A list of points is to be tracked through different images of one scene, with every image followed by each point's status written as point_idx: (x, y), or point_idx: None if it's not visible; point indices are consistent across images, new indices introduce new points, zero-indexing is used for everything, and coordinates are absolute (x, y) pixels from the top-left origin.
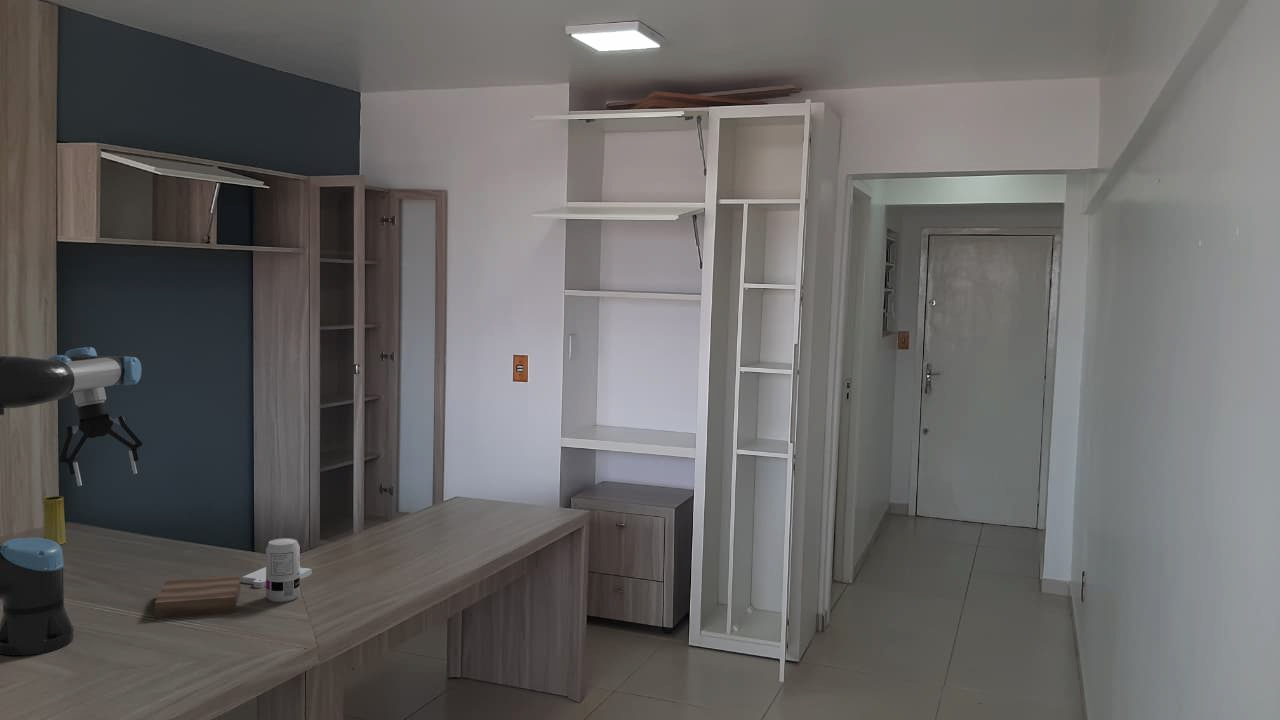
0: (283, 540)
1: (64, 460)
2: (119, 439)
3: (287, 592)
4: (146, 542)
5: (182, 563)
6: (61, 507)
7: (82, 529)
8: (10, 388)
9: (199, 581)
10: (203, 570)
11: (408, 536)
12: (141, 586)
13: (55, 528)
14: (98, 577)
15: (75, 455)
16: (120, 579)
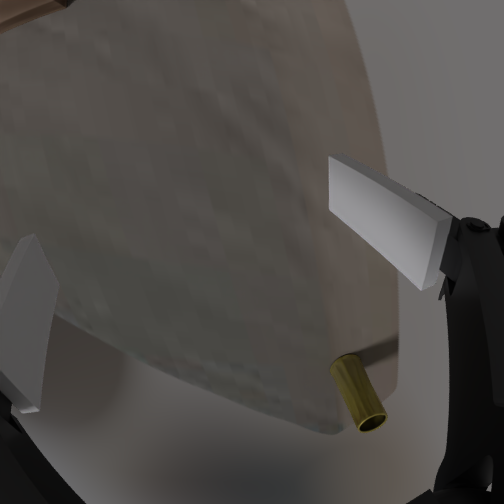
0: None
1: (501, 229)
2: (22, 491)
3: None
4: (199, 366)
5: (80, 224)
6: (355, 410)
7: (314, 420)
8: None
9: (2, 5)
10: (30, 169)
11: None
12: (117, 62)
13: (352, 377)
14: (223, 139)
15: (475, 258)
16: (172, 116)
